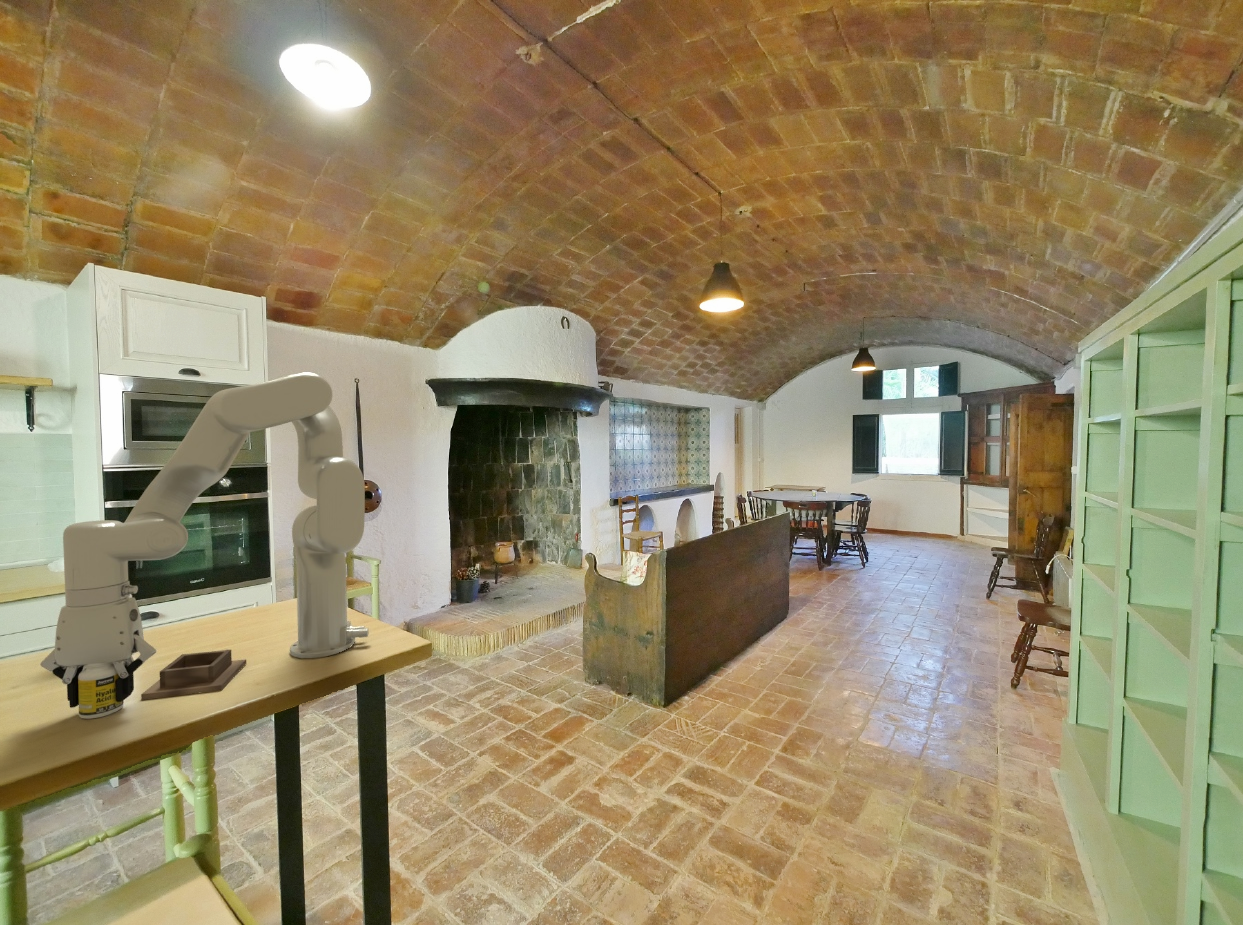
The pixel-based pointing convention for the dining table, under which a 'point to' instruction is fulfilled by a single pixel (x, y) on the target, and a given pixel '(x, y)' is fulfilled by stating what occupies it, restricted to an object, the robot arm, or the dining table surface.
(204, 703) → the dining table surface
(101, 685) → the supplement bottle
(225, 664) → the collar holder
